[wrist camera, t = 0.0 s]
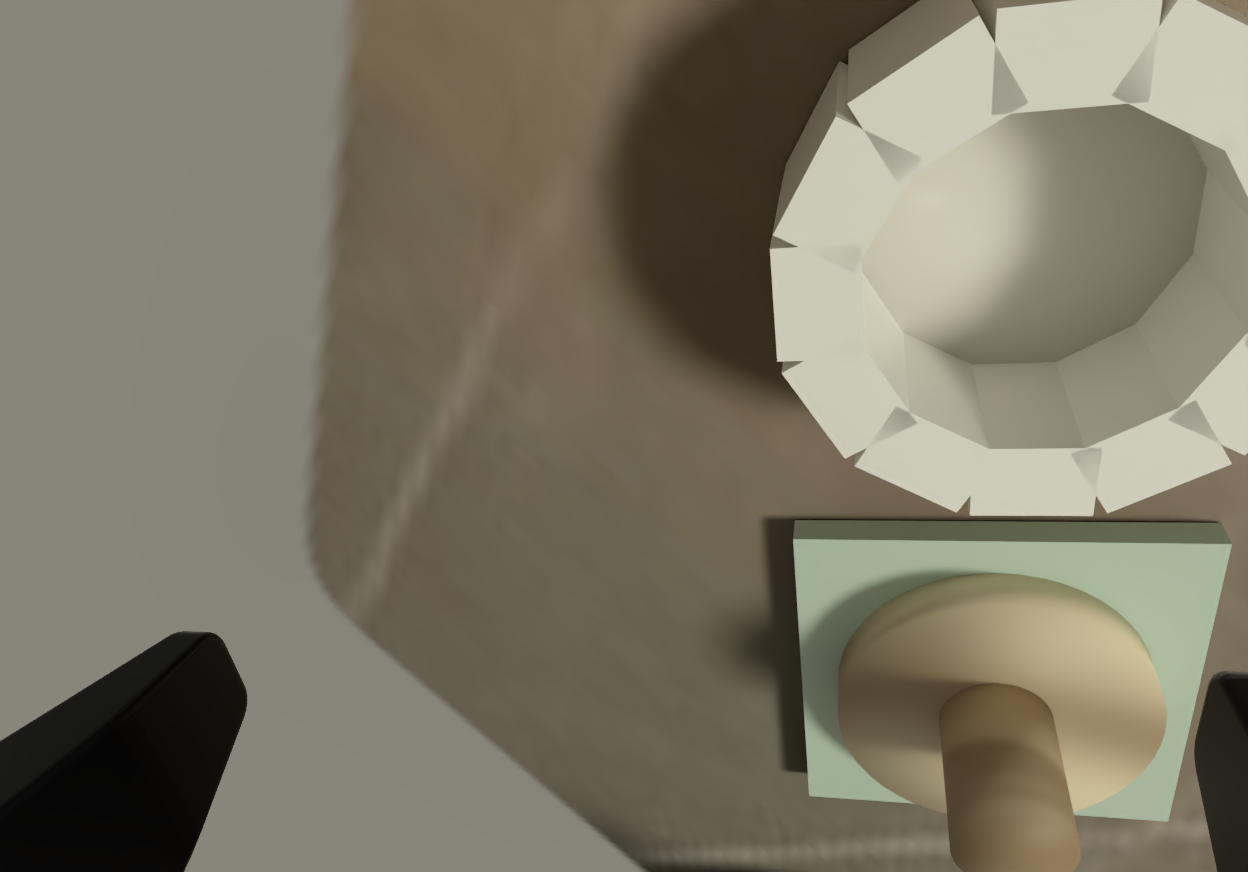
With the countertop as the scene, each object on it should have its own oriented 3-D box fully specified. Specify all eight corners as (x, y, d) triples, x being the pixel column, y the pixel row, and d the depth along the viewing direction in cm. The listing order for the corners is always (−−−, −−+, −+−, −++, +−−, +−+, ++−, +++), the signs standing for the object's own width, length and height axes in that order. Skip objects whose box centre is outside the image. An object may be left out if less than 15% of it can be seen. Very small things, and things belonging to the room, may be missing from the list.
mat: (1161, 797, 29) (1168, 821, 28) (809, 774, 31) (809, 796, 30) (1221, 522, 24) (1231, 543, 23) (794, 520, 26) (793, 539, 25)
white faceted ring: (1237, 407, 22) (1303, 517, 19) (796, 415, 24) (786, 514, 21) (1339, -75, 17) (1456, -42, 14) (772, -9, 19) (755, 35, 16)
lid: (1133, 795, 28) (1181, 970, 24) (841, 776, 30) (838, 934, 26) (1177, 576, 24) (1244, 741, 20) (834, 569, 26) (830, 719, 21)
